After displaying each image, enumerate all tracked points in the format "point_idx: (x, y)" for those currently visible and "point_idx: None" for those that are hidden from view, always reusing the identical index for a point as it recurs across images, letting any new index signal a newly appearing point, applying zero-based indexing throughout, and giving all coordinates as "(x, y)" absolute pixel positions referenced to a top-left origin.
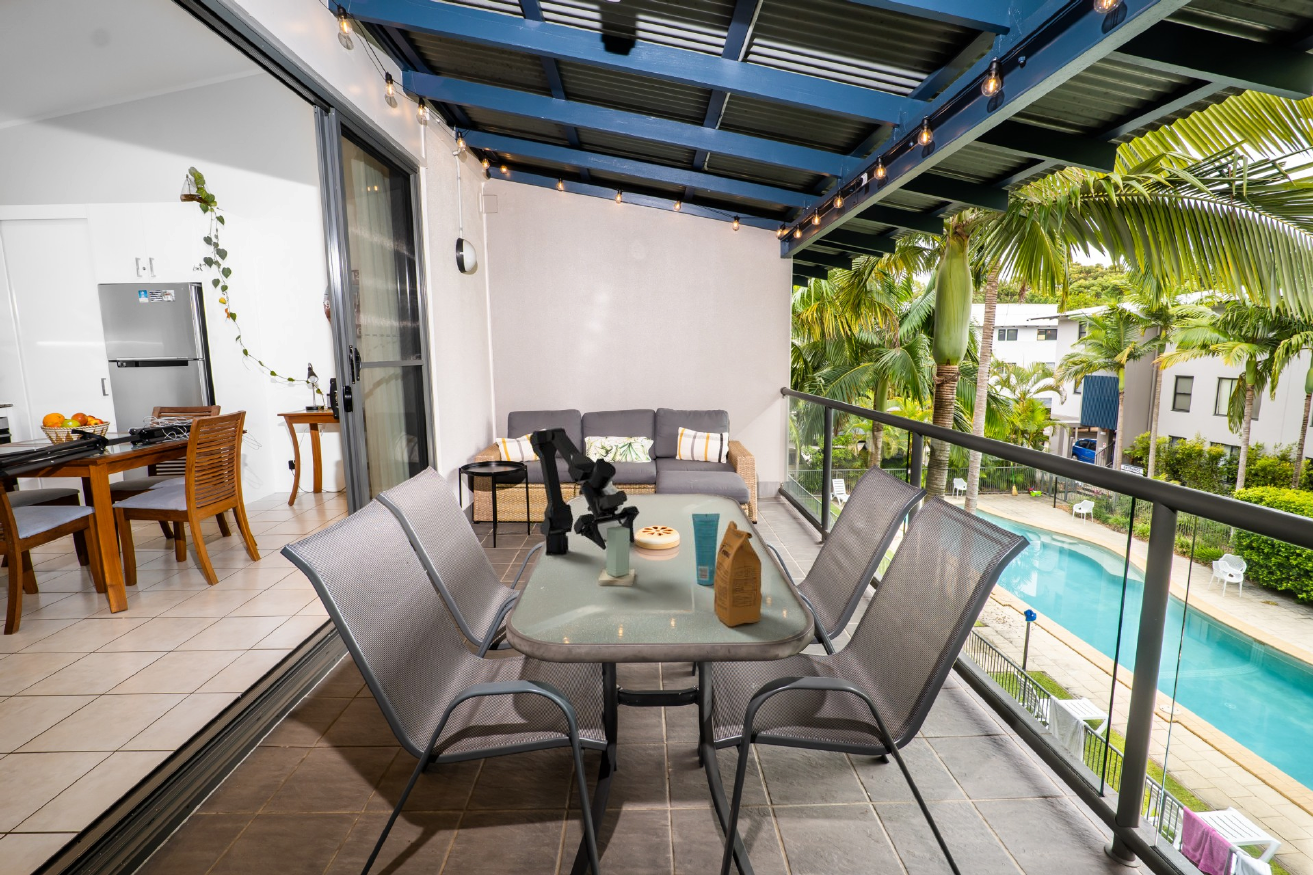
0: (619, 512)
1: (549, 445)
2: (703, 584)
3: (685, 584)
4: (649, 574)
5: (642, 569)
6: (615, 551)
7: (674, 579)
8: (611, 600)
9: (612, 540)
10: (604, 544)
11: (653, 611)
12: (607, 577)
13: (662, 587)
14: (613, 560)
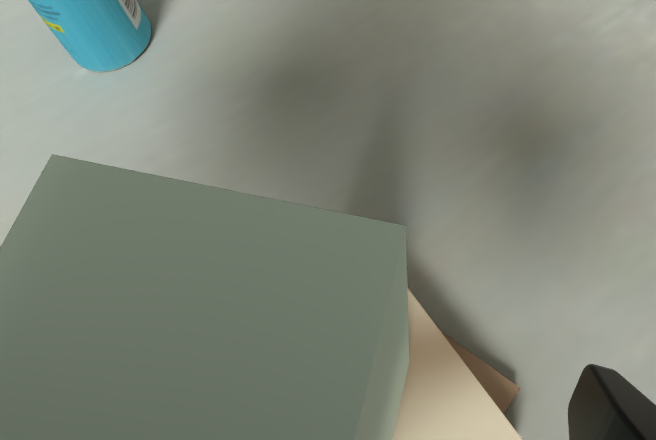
0: None
1: None
2: (150, 27)
3: (177, 87)
4: None
5: None
6: (406, 334)
7: (137, 160)
8: (604, 230)
9: (384, 399)
10: (624, 393)
11: (537, 11)
12: (440, 430)
13: (269, 140)
14: (399, 387)
